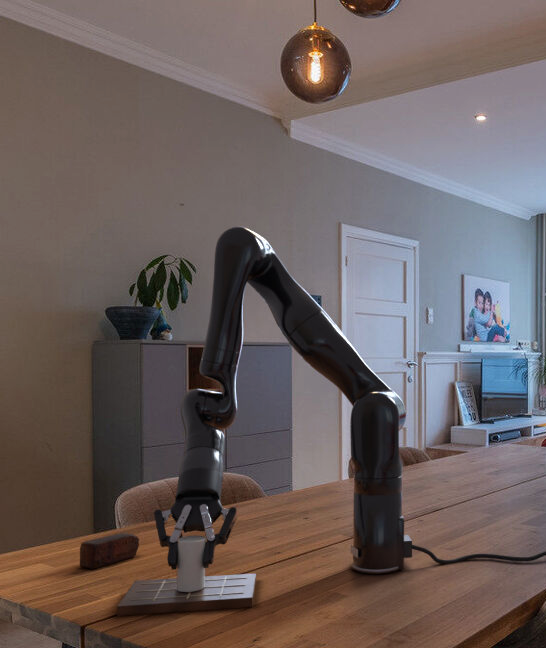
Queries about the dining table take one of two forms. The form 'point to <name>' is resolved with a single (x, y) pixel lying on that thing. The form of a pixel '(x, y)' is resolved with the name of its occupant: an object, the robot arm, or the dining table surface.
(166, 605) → the board
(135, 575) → the dining table surface
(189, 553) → the white upright cylinder
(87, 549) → the brick
